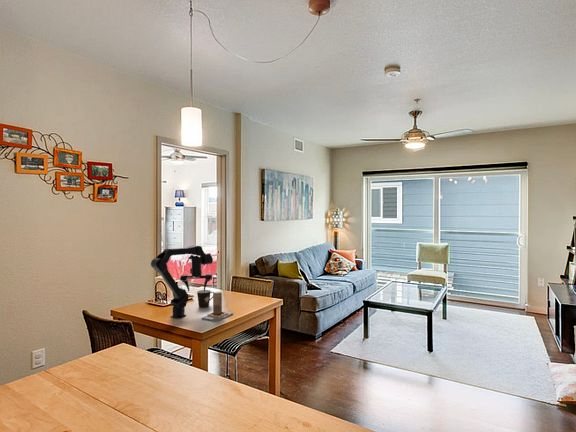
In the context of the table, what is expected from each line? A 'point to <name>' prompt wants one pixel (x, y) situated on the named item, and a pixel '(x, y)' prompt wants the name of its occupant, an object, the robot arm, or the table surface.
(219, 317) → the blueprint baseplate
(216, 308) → the walnut post
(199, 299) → the coffee mug
